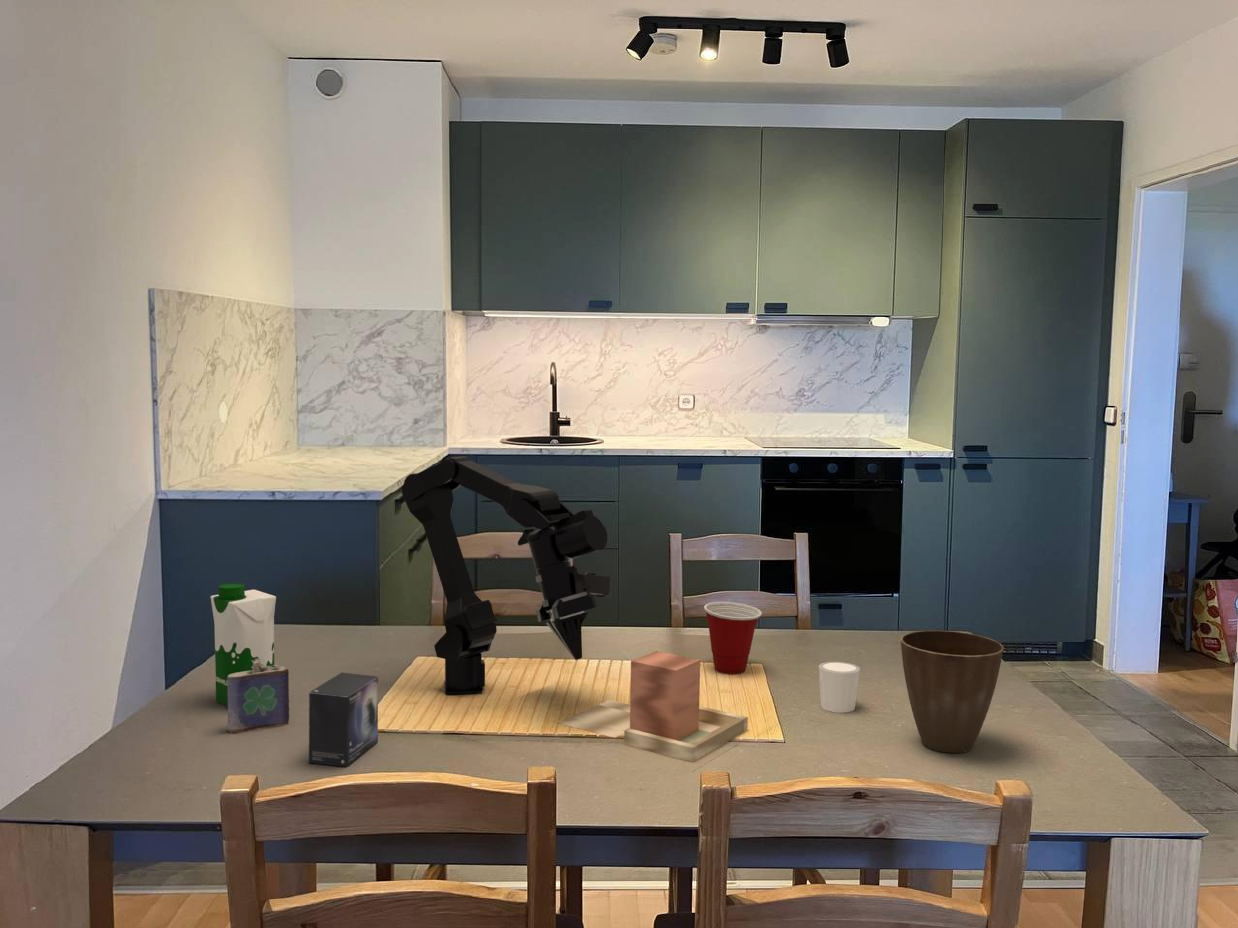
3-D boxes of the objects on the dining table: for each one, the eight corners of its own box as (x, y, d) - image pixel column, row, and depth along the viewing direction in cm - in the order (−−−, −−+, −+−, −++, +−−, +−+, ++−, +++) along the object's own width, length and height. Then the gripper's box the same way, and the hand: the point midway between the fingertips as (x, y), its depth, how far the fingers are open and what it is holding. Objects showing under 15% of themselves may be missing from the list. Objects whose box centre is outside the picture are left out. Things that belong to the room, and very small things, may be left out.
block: (629, 731, 162) (630, 660, 161) (654, 719, 168) (656, 650, 167) (674, 743, 157) (675, 670, 156) (698, 729, 163) (700, 659, 162)
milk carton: (207, 701, 178) (204, 583, 176) (258, 689, 184) (256, 575, 182) (233, 713, 172) (230, 591, 170) (284, 701, 178) (282, 583, 176)
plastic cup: (745, 682, 193) (746, 617, 191) (692, 672, 198) (693, 609, 197) (769, 668, 202) (771, 605, 201) (718, 658, 207) (719, 598, 206)
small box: (349, 768, 150) (348, 695, 149) (306, 764, 151) (305, 692, 150) (380, 742, 160) (380, 674, 159) (340, 738, 162) (339, 671, 161)
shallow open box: (552, 733, 165) (552, 711, 164) (613, 706, 178) (613, 686, 178) (692, 771, 150) (692, 747, 150) (747, 739, 164) (747, 716, 163)
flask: (229, 734, 163) (228, 665, 162) (225, 728, 165) (224, 661, 164) (291, 724, 167) (290, 658, 166) (286, 719, 170) (285, 653, 169)
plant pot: (886, 726, 170) (890, 628, 169) (980, 728, 170) (985, 630, 168) (909, 761, 156) (913, 654, 154) (1012, 764, 155) (1018, 656, 154)
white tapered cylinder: (862, 704, 181) (864, 664, 181) (853, 716, 175) (855, 674, 174) (822, 698, 184) (824, 658, 183) (812, 709, 178) (814, 669, 177)
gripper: (613, 546, 166) (640, 644, 165) (586, 557, 184) (611, 645, 182) (545, 565, 163) (572, 664, 161) (525, 574, 181) (549, 664, 179)
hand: (578, 659), depth 171 cm, fingers closed
